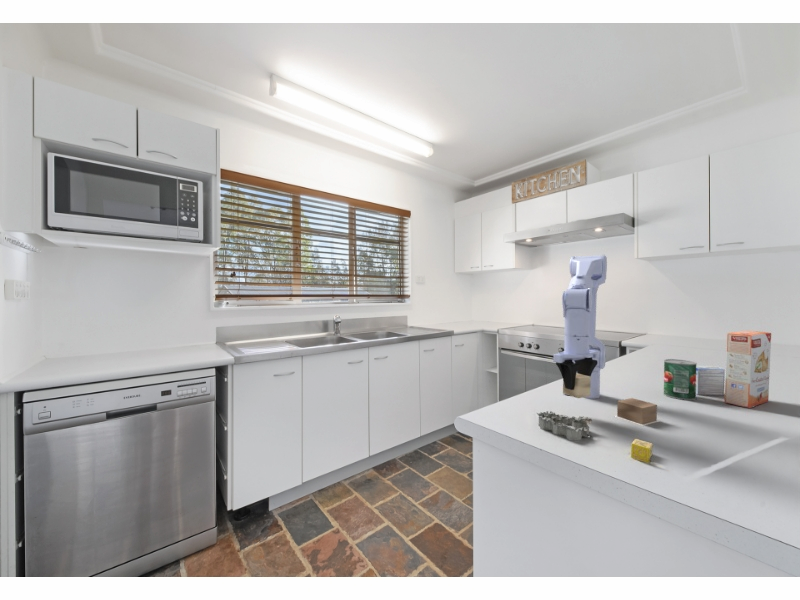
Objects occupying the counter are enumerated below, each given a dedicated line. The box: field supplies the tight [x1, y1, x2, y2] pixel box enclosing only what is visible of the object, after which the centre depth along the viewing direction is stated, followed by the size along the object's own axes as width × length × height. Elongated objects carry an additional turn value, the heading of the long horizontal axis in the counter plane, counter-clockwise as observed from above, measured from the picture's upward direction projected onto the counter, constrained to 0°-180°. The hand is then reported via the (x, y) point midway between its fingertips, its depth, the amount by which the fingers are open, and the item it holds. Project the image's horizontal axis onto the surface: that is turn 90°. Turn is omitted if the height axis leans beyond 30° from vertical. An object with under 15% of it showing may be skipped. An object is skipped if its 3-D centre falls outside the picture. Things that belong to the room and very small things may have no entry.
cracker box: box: [724, 330, 772, 409], centre depth 101 cm, size 14×6×21 cm, turn 117°
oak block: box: [562, 373, 591, 399], centre depth 88 cm, size 4×4×5 cm
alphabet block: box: [630, 438, 654, 464], centre depth 67 cm, size 3×3×3 cm
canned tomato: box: [662, 358, 697, 401], centre depth 107 cm, size 8×8×11 cm
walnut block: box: [616, 397, 658, 426], centre depth 86 cm, size 6×6×4 cm
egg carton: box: [536, 410, 593, 441], centre depth 81 cm, size 11×8×4 cm
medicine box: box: [696, 365, 726, 396], centre depth 110 cm, size 8×4×9 cm, turn 84°
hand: (576, 387), depth 88 cm, fingers closed on oak block, 4 cm apart
